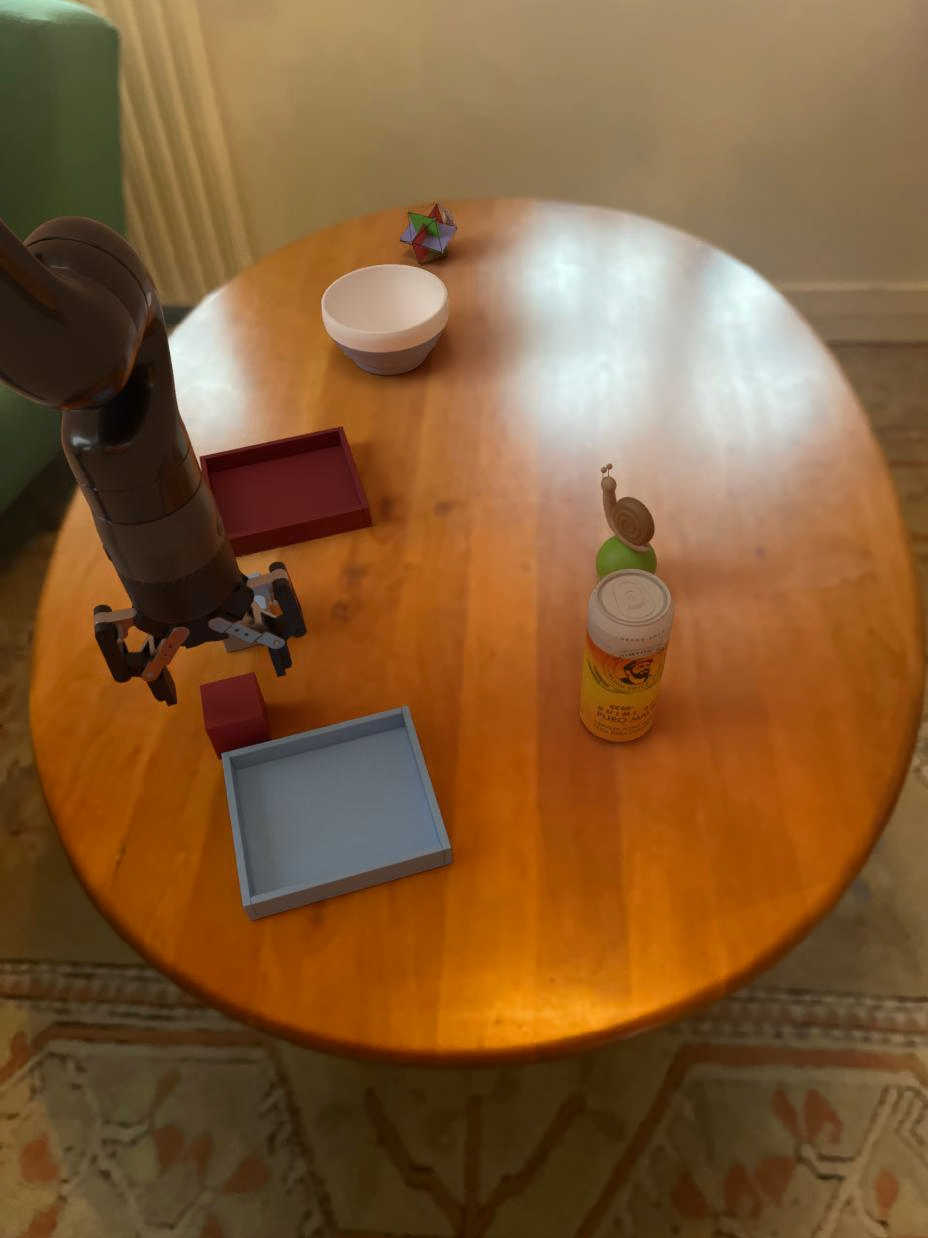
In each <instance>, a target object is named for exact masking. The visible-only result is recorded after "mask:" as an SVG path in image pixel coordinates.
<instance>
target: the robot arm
mask: <svg viewBox="0 0 928 1238" xmlns="http://www.w3.org/2000/svg"><path fill="white" fill-rule="evenodd" d="M160 299H161V298H160V297H159V293H158V290H157V286H156V284H155V282H154V279H153V277H152V275H151V273H150V270H149V268H148V267H147V265H146V264H145V262H144V260H143V258H142V257H141V256H140V254H139V253H138V252H137V250H136V249H135V248H134V247H133V245H132V244H131V243H130V242H129V241H128V240H127V239H125V237H123V236H122V235H121V234H119V233H118V232H117V231H116V230H114V229H112V228H111V227H109V226H108V225H106V224H104V223H102V222H100V221H98V220H96V219H92V218H88V217H84V216H75V215H73V216H60V217H56V218H52V219H51V220H48V221H45V222H44V223H42V224H41V225H39V226H38V227H36V228H35V229H34V230H33V231H32V232H31V233H30V234H29V235H28V236H27V237H26V239H24V241H23V242H22V240H21V239H20V238H19V237H18V236H17V235H16V234H15V233H14V232H13V230H12V229H11V228H9V226H8V225H7V224H6V223H5V222H4V221H3V219H2V218H1V217H0V384H2V385H3V386H4V387H7V388H8V389H9V390H11V391H12V392H14V393H15V394H17V395H19V396H21V397H23V398H25V399H27V400H29V401H31V402H34V403H35V404H39V405H42V406H45V407H48V408H50V409H55V410H59V411H62V417H61V427H60V440H61V446H62V450H63V452H64V456H65V458H66V460H67V463H68V465H69V468H70V469H71V472H72V475H73V476H74V478H75V481H76V483H77V484H78V486H79V489H80V491H81V493H82V495H83V498H84V499H85V501H86V503H87V505H88V508H89V509H90V512H91V515H92V518H93V523H94V526H95V529H96V532H97V534H98V536H99V539H100V542H101V544H102V549H103V551H104V553H105V555H106V557H107V559H108V561H109V562H110V563H112V566H113V568H114V570H115V572H116V574H117V576H118V578H119V580H120V582H121V585H122V586H123V588H124V590H125V592H126V594H127V596H128V598H129V600H130V603H131V607H128V608H127V607H126V608H122V609H118V610H113V609H112V607H110V605H108V604H98V605H96V606H95V607H94V608H93V609H92V610H93V611H92V612H93V629H94V639H95V641H96V643H97V645H98V648H99V649H100V652H101V654H102V657H103V659H104V660H105V663H106V666H107V668H108V670H109V672H110V674H111V676H112V679H113V680H114V681H115V682H116V683H120V684H124V683H128V682H129V681H131V679H132V678H141V680H142V681H144V682H146V684H147V686H148V688H149V689H150V692H151V693H152V695H153V697H154V699H155V700H156V701H157V702H159V703H163V702H165V703H166V705H167V707H171V706H176V705H178V696H177V695H178V694H177V686H176V684H175V681H174V679H173V676H172V675H171V672H170V671H169V667H168V666H169V665H170V664H171V663H172V661H173V659H174V658H175V656H176V654H177V652H178V651H179V649H180V647H185V649H186V650H189V649H193V648H196V647H199V646H201V645H204V644H205V643H209V642H210V643H212V642H220V641H223V640H224V639H228V638H229V636H228V635H232V636H234V637H236V638H239V639H241V640H243V641H246V642H248V643H250V644H253V643H254V642H255V641H256V642H259V643H261V644H260V645H263V646H265V647H267V651H268V654H269V657H270V660H271V663H272V666H273V668H274V669H273V670H274V671H275V674H276V677H277V678H281V677H285V676H287V672H286V670H287V669H291V668H292V665H293V660H292V656H291V652H290V648H289V644H288V640H289V639H291V638H292V637H293V638H296V639H297V638H298V639H299V638H302V637H304V636H306V635H307V633H308V629H307V625H306V621H305V617H304V613H303V609H302V606H301V603H300V600H299V597H298V595H297V593H296V589H295V587H294V584H293V582H292V580H291V577H290V574H289V572H288V569H287V567H286V564H285V562H283V561H274V562H271V563H270V564H269V566H268V573H264V574H260V576H257V577H254V578H250V579H249V578H248V577H247V576H246V575H247V574H244V573H243V572H242V571H241V570H240V567H239V564H238V561H237V559H236V558H237V557H235V555H234V552H233V549H232V547H231V544H230V541H229V538H228V535H227V532H226V529H225V526H224V523H223V520H222V518H221V515H220V512H219V509H218V506H217V503H216V500H215V497H214V495H213V493H212V490H211V488H210V486H209V484H208V483H207V481H206V479H205V477H204V475H203V474H202V471H201V466H200V463H199V461H198V458H197V455H196V452H195V450H194V447H193V444H192V441H191V438H190V435H189V432H188V429H187V427H186V425H185V422H184V420H183V418H182V416H181V412H180V409H179V404H178V398H177V391H176V383H175V374H174V367H173V362H172V361H173V360H172V356H171V349H170V343H169V338H168V337H169V336H168V332H167V325H166V321H165V316H164V311H163V307H162V302H161V300H160ZM256 595H261V596H263V597H265V598H266V600H268V601H269V603H271V605H272V606H277V605H278V606H279V608H280V611H281V614H279V615H277V614H275V613H273V612H272V611H271V612H268V611H266V610H264V609H262V608H261V607H260V606H259V605H258V603H257V602H256V601H254V596H256ZM132 627H135V628H136V629H137V630H139V631H141V632H143V633H145V634H147V636H146V638H145V639H144V641H143V643H142V645H141V647H140V649H139V650H138V651H129V648H128V646H127V643H126V640H125V639H127V637H129V630H130V628H132Z"/></svg>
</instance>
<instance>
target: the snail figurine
mask: <svg viewBox="0 0 928 1238" xmlns="http://www.w3.org/2000/svg"><path fill="white" fill-rule="evenodd" d="M612 469H613V464H612V463H607V464H606V466H602V467H601V468H600V472H601V474H602V475H605V473H607V476H603V477H602V479H601V481H600V488H601V490H602V506H603V512H604V516H605V519H606V522H607V525H608V527H609V529H610V530H611V531H612V532H613V534H614V535H612V536H611V537H609V538H608V539H606V540H605V541H604V542H603V543H602V545H601V546H600V548H599V549H598V551H597V554H596V557H595V568H596V569H595V570H596V572H597V575H598V577H599V580H600V581H601V580H602V579H603V578H604V577H605V576H607V575H608V574H610V573H612V572H615V571H618V570H623V569H638V570H643V571H646V572H649V573H651V574H653V575H655V574H656V571H657V566H658V560H657V559H658V558H657V554H656V552H655V549H654V547H653V546H652V544H651V543H650V542H651V541H652V540H653V538H654V535H655V531H656V526H655V521H654V517H653V515H652V513H651V511H650V510H649V509H648V507H647V506H646V505H645V504H644V503H643V502H642V501H641V500H639V499H637V498H636V497H632V496H624V497H621V498H619V499H618V500H617V494H616V490H617V485H618V483H617V480H616V479H615V478H614V477H612V476H610V470H612Z"/></svg>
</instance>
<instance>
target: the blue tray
mask: <svg viewBox="0 0 928 1238" xmlns="http://www.w3.org/2000/svg"><path fill="white" fill-rule="evenodd" d="M221 755H222V759H221V762H222V767H223V768H222V769H223V775H224V783H225V790H226V798H227V803H228V804H227V805H228V811H229V819H230V825H231V831H232V832H231V833H232V839H233V846H234V847H233V848H234V854H235V861H236V868H237V874H238V875H237V876H238V881H239V888H240V889H239V890H240V895H241V903H242V907H243V909H244V911H245V913H246V916H247V917H248V919H249V920H250V921H255V920H258V919H261V918H265V917H268V916H272V915H276V914H279V913H282V912H286V911H290V910H293V909H297V908H300V907H303V906H307V905H310V904H314V903H317V902H321V901H324V900H328V899H331V898H335V897H338V896H342V895H346V894H349V893H352V892H357V891H359V890H363V889H366V888H370V887H374V886H377V885H381V884H384V883H388V882H391V881H395V880H398V879H402V878H405V877H409V876H412V875H416V874H419V873H422V872H427V871H430V870H433V869H437V868H440V867H443V866H447V865H450V864H453V863H454V861H453V852H452V845H451V842H450V839H449V835H448V831H447V830H446V829H447V828H446V826H445V823H444V819H443V816H442V813H441V809H440V806H439V802H438V799H437V797H436V796H437V795H436V793H435V790H434V786H433V783H432V780H431V775H430V773H429V770H428V767H427V763H426V760H425V757H424V753H423V750H422V747H421V744H420V740H419V737H418V733H417V730H416V727H415V724H414V721H413V718H412V714H411V711H410V707H409V705H408V704H407V705H403V706H401V707H395V708H392V709H387V710H384V711H381V712H376V713H373V714H369V715H368V714H367V715H365V716H361V717H357V718H353V719H349V720H345V721H341V722H338V723H334V724H329V725H327V726H322V727H318V728H314V729H310V730H307V731H303V732H298V733H296V734H291V735H288V736H283V737H280V738H275V739H272V741H268V742H264V743H260V744H256V745H252V746H248V747H244V748H241V749H237V750H233V751H229V752H225V753H222V754H221Z"/></svg>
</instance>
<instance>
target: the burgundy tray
mask: <svg viewBox="0 0 928 1238" xmlns="http://www.w3.org/2000/svg"><path fill="white" fill-rule="evenodd" d="M198 459H199V466H200V469H201V471H202V474H203V475H204V477H205V479H206V481H207V483H208V484H209V486H210V488H211V490H212V493H213V495H214V497H215V500H216V503H217V506H218V509H219V512H220V515H221V518H222V520H223V523H224V526H225V529H226V532H227V535H228V538H229V541H230V544H231V547H232V549H233V552H234V555H235V558H237V557H241V556H247V555H250V554H254V553H259V552H264V551H267V550H271V549H277V548H280V547H281V548H282V547H286V546H289V545H293V544H294V545H295V544H299V543H302V542H307V541H311V540H315V539H320V538H325V537H330V536H332V535H337V534H342V533H346V532H350V531H355V530H360V529H364V528H369V527H372V526H373V522H372V517H371V511H370V510H371V509H370V506H369V503H368V499H367V496H366V493H365V490H364V487H363V485H362V481H361V477H360V475H359V472H358V468H357V465H356V462H355V458H354V457H353V453H352V450H351V447H350V444H349V441H348V438H347V434H346V432H345V429H344V425H343V426H336V427H331V428H327V429H322V430H318V431H312V432H307V433H304V434H299V435H294V436H288V437H284V438H279V439H276V440H270V441H265V442H262V443H256V444H251V445H247V446H242V447H237V448H231V449H228V450H224V451H217V452H213V453H210V454H205V455H199V457H198Z"/></svg>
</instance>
